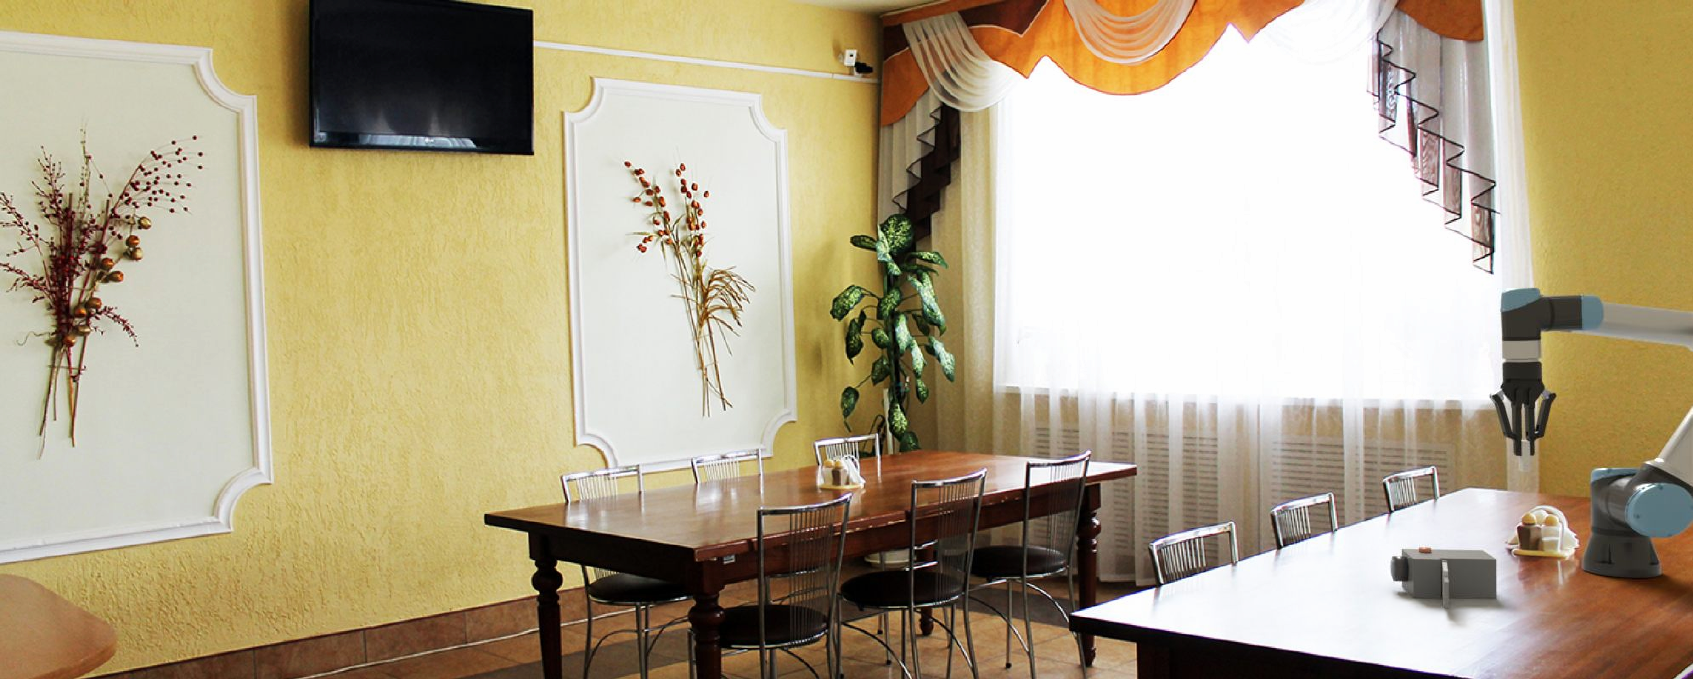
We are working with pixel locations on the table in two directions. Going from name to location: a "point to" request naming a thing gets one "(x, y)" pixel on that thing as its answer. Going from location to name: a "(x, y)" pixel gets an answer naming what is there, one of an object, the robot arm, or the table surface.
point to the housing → (1465, 573)
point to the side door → (1445, 584)
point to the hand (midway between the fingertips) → (1524, 471)
